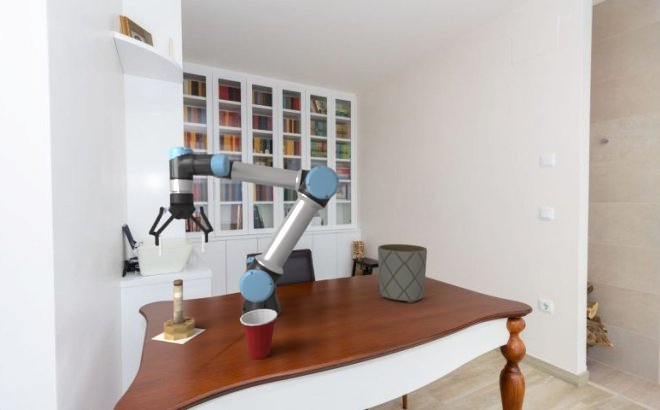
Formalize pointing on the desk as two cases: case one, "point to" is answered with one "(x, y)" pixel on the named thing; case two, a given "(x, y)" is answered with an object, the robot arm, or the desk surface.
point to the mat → (181, 341)
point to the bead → (179, 329)
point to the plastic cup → (259, 331)
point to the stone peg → (178, 301)
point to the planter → (402, 271)
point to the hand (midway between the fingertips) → (182, 253)
